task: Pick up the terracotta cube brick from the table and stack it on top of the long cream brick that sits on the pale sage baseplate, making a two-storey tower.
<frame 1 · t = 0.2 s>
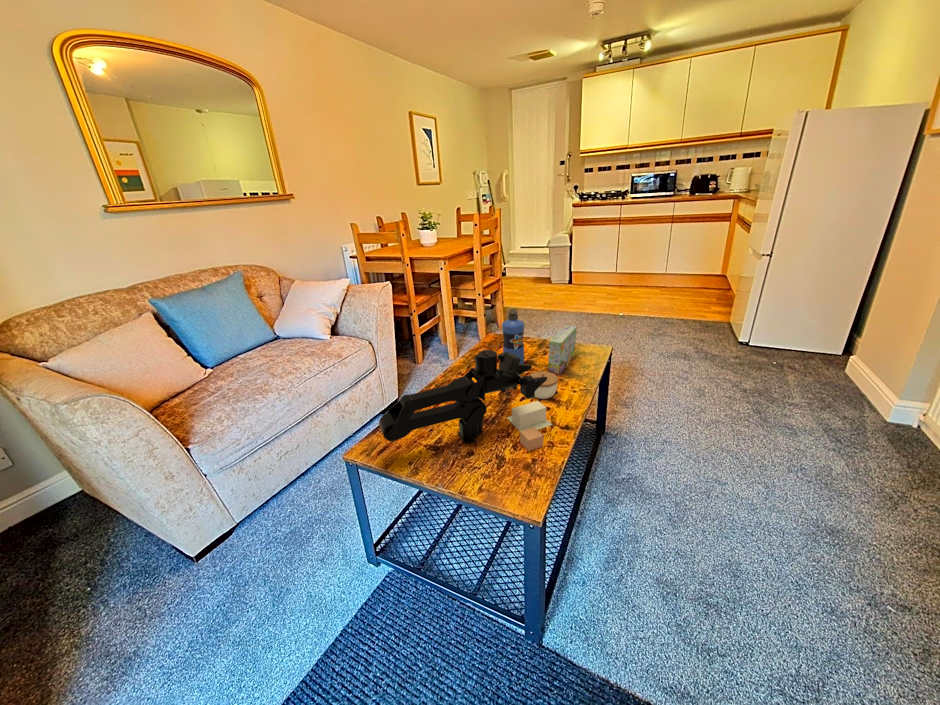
hand: (538, 372, 128), 17 cm above the table, tool horizontal, fingers open, 9 cm apart
baseplate: (529, 423, 131), on the table
bottom brick: (529, 421, 130), point 1 cm above the table, touching baseplate
water bottle: (513, 364, 174), on the table
lidded jar: (542, 396, 147), on the table
top brick: (531, 447, 119), on the table
snack box: (561, 365, 170), on the table
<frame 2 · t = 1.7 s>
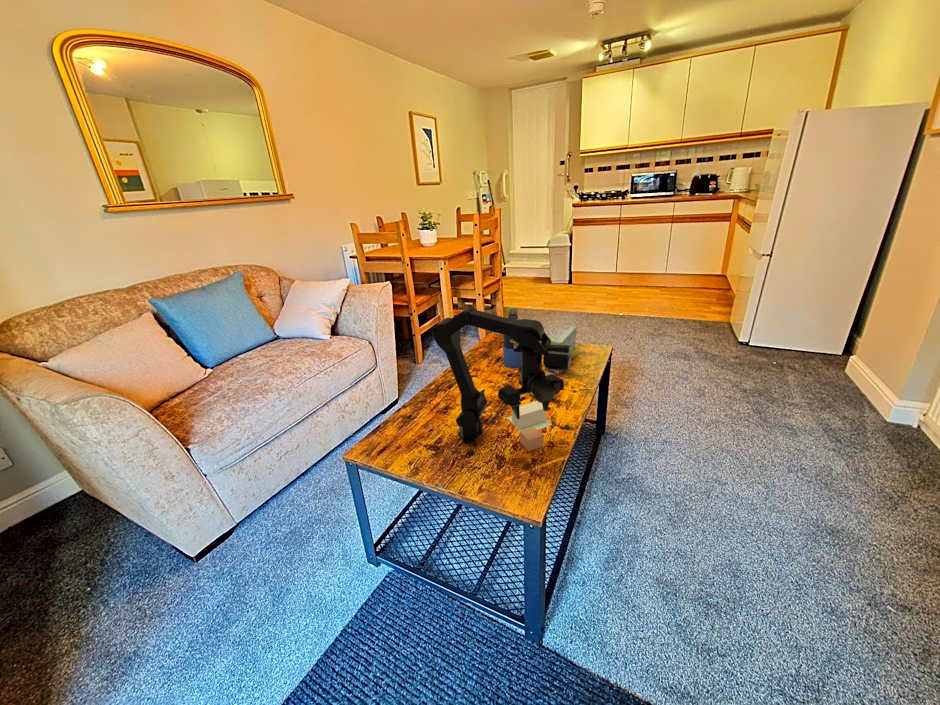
hand: (531, 414, 115), 11 cm above the table, tool pointing down, fingers open, 9 cm apart
nothing on the table moved.
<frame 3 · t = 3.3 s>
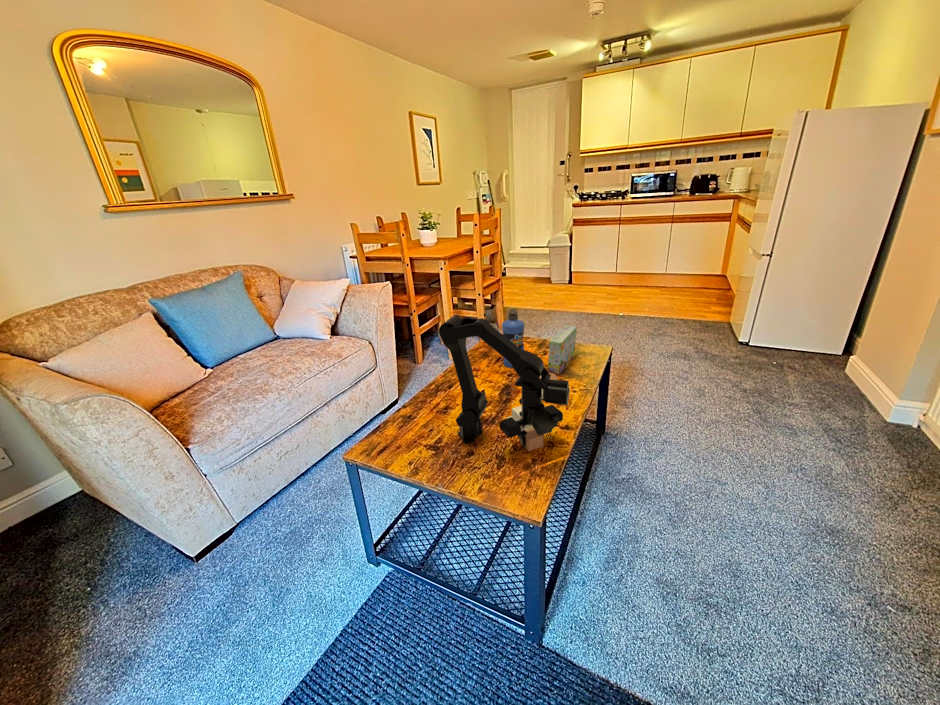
hand: (531, 444, 119), 1 cm above the table, tool pointing down, fingers closed on top brick, 5 cm apart
top brick: (531, 446, 119), on the table, touching gripper
everything else where it was.
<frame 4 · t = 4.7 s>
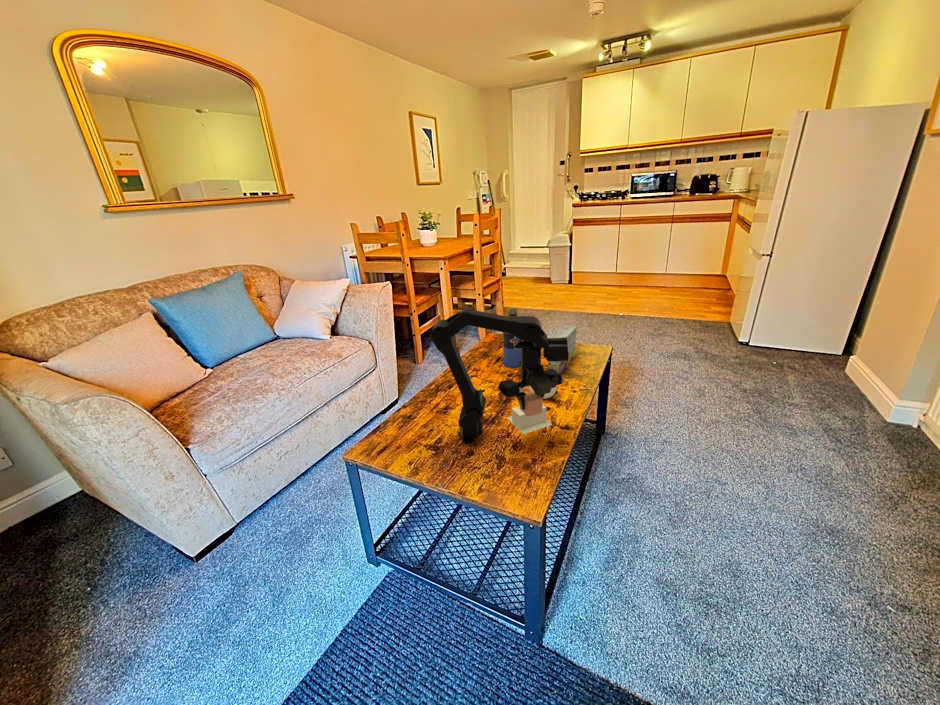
hand: (530, 407, 119), 11 cm above the table, tool pointing down, fingers closed on top brick, 5 cm apart
top brick: (530, 410, 120), point 10 cm above the table, touching gripper
everything else where it was.
when the fingers open (8 cm above the table, at t = 6.1 s): top brick drops 1 cm, resting on bottom brick.
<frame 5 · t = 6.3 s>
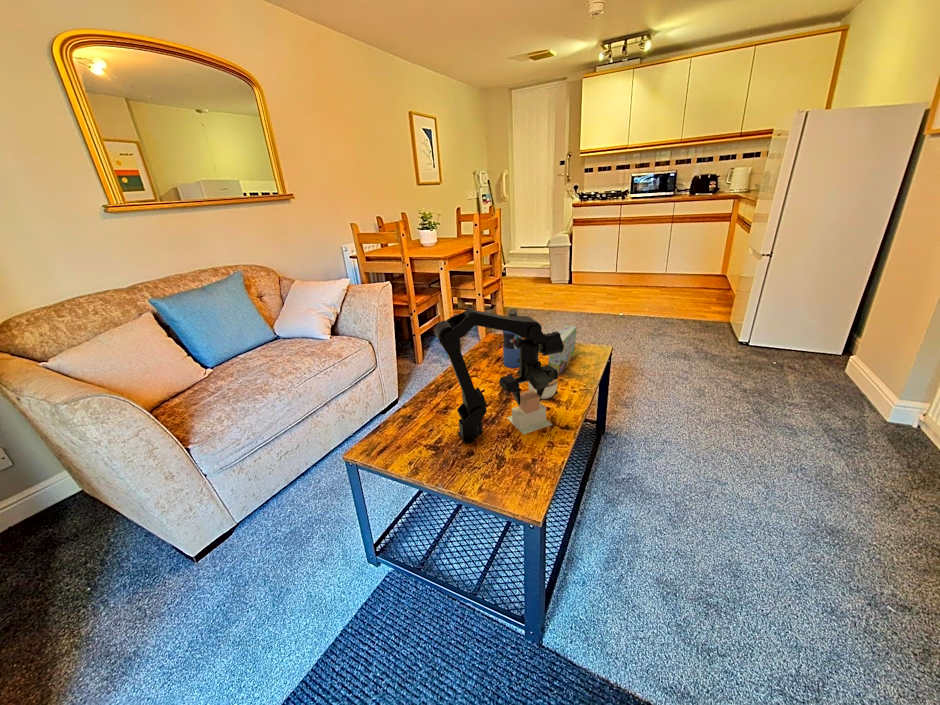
hand: (528, 401, 127), 8 cm above the table, tool pointing down, fingers open, 7 cm apart
bottom brick: (529, 421, 130), point 1 cm above the table, touching baseplate, top brick
top brick: (529, 408, 128), point 6 cm above the table, touching bottom brick
everything else where it was.
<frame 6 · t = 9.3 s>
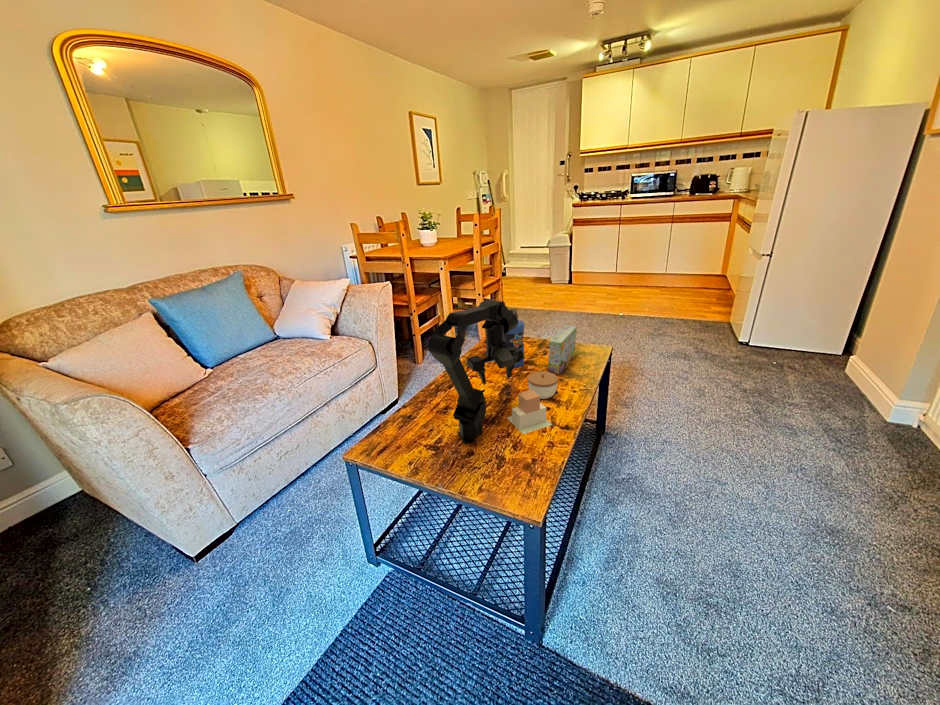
hand: (496, 381, 133), 13 cm above the table, tool pointing down, fingers open, 9 cm apart
nothing on the table moved.
at the end: top brick 0.0 cm off-centre on the bottom brick, point 5.0 cm above the bottom brick's base; top brick tilted 0°; bottom brick moved 0.1 cm from its start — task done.
